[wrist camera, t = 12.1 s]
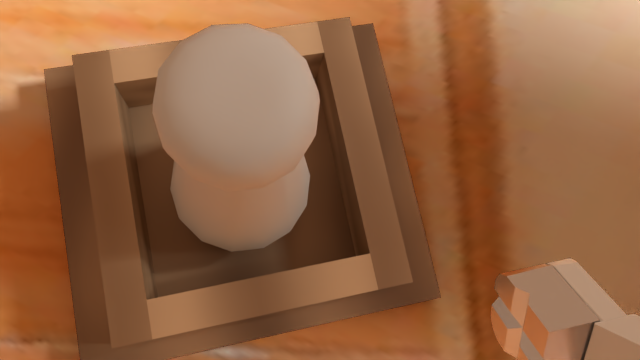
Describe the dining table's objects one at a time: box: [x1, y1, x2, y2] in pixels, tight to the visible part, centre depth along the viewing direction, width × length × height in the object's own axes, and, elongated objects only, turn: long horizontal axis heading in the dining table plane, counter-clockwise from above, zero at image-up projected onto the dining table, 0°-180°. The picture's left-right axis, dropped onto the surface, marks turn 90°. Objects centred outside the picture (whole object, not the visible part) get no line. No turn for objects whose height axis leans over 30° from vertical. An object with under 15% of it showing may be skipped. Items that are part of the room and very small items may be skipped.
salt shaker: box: [152, 24, 320, 252], centre depth 20 cm, size 6×6×13 cm
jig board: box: [44, 17, 441, 360], centre depth 26 cm, size 16×14×4 cm
